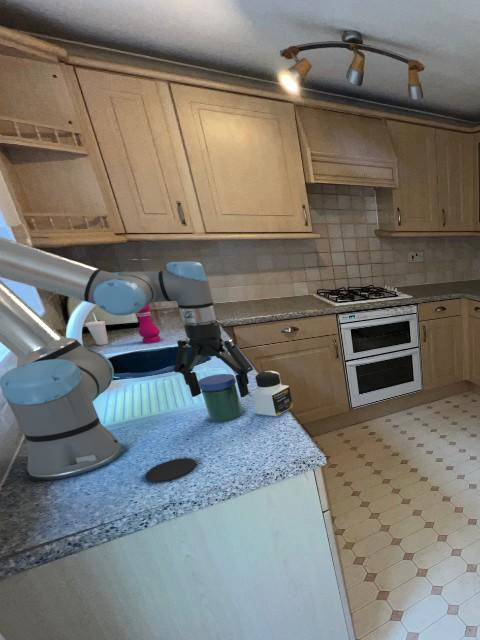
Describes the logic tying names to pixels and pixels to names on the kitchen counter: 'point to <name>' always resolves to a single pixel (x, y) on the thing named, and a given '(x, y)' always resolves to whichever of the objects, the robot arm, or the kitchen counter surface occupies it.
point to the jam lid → (216, 382)
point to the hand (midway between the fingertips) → (221, 395)
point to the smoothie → (98, 331)
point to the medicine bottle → (271, 394)
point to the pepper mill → (147, 326)
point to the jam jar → (222, 404)
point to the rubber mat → (170, 470)
